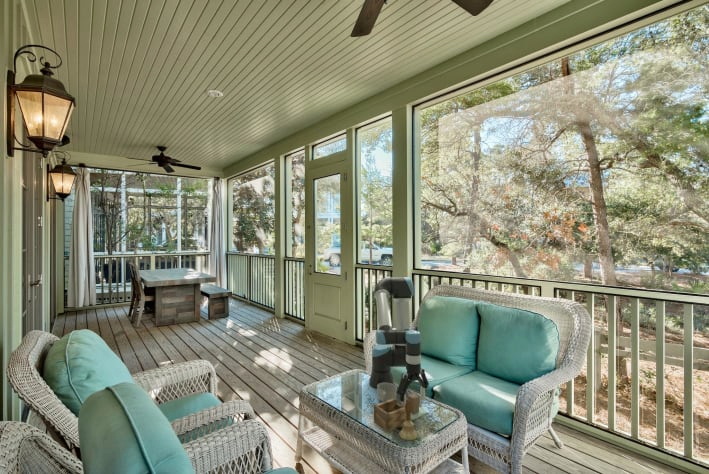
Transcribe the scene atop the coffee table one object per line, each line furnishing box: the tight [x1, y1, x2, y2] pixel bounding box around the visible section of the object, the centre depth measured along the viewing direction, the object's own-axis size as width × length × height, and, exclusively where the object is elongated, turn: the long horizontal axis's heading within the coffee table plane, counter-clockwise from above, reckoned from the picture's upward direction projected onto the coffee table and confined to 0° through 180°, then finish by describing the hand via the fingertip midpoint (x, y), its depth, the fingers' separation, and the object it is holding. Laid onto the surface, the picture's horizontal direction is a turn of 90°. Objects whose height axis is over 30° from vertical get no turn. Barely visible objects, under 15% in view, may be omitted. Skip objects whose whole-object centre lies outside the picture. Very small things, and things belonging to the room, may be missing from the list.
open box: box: [373, 397, 412, 432], centre depth 167 cm, size 14×11×8 cm
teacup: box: [376, 382, 398, 403], centre depth 186 cm, size 14×11×8 cm
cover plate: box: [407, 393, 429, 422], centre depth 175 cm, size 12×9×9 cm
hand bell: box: [398, 399, 418, 441], centre depth 156 cm, size 8×8×16 cm
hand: (413, 403), depth 174 cm, fingers open, 13 cm apart
